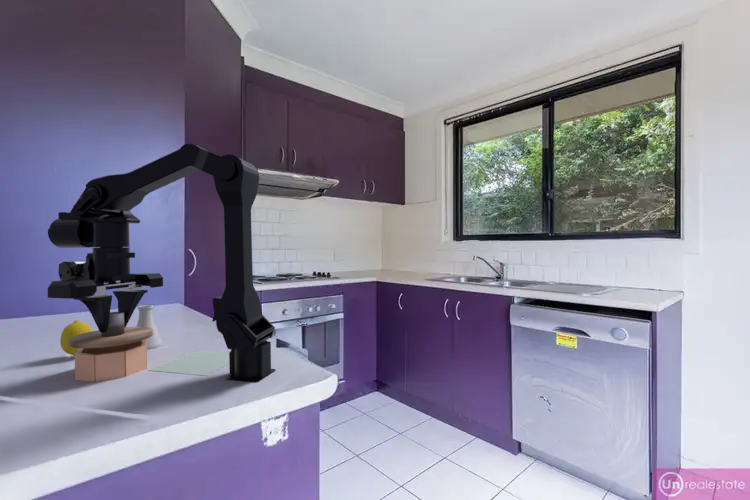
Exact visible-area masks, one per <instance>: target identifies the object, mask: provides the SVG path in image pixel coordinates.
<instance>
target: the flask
mask: <svg viewBox="0 0 750 500" xmlns="http://www.w3.org/2000/svg"><path fill="white" fill-rule="evenodd" d="M137 310H138V320H137V324H136V326H135V327H148V328H152V329H153V335H152V336H151V337H149V338H147V339H144V340H147V351H149V350H154V349H157V348H160V347H164V346H165V344H164V342H163V340H162V337H161V335H160V333H159V331H158V328H157V325H156V323H155V320H154V316H153V310H154V305H152V304H145V305H137Z"/></svg>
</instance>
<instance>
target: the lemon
mask: <svg viewBox="0 0 750 500" xmlns="http://www.w3.org/2000/svg"><path fill="white" fill-rule="evenodd" d="M92 331H93V329H92V328H91V326H90V325H89V324H87V323H86V322H83V321H81V320H74V321H73V322H71V323H69V324H68V325H66V326H65V327H64V328H63V330H62V331H61V334H60V339H59V340H60V347H61V349H62V351H64V352H65V353H66V354H68V355H71V356H73V357H75V353H76V351H77V350H78V349H79V348H73V347H70V346H69V339H70V338H72V337H74V336H77V335H80V334H83V333H88V332H92Z"/></svg>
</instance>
